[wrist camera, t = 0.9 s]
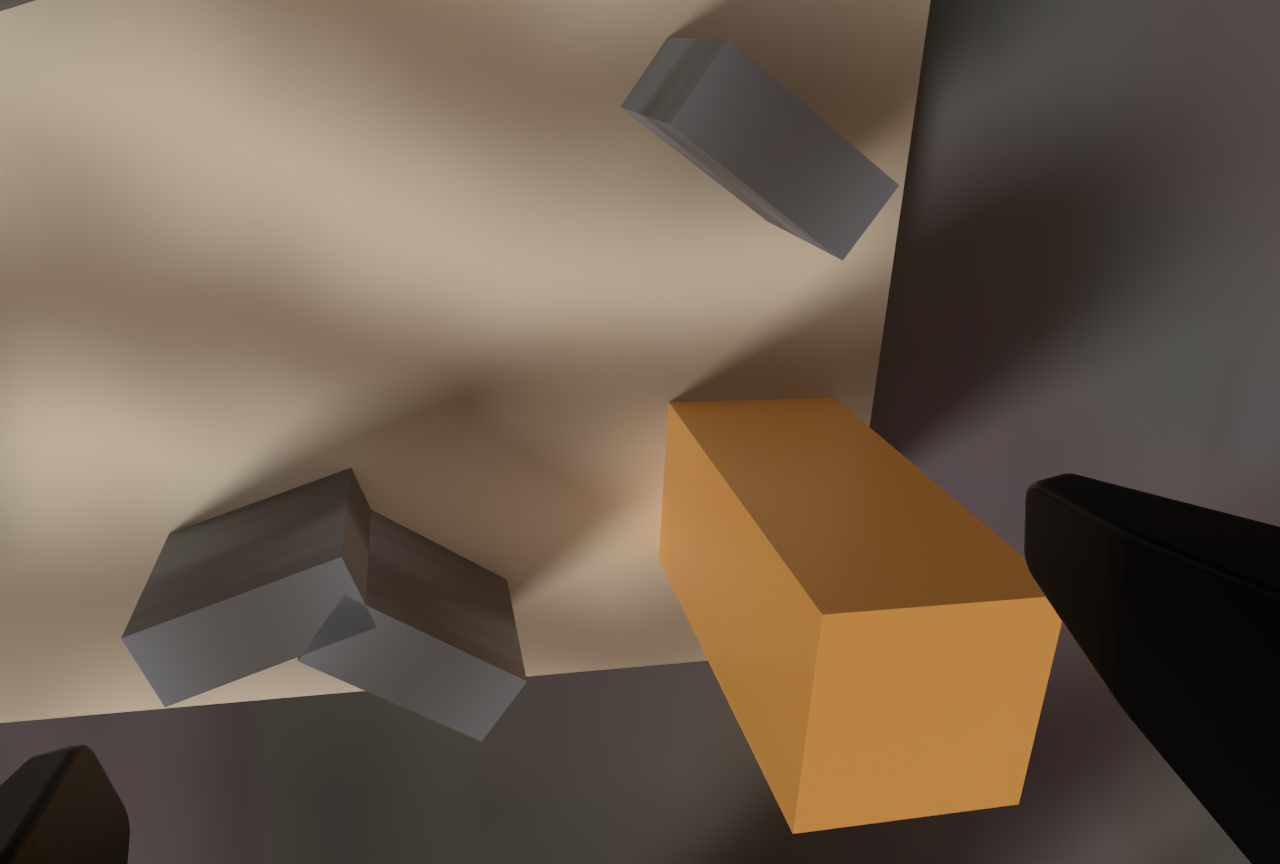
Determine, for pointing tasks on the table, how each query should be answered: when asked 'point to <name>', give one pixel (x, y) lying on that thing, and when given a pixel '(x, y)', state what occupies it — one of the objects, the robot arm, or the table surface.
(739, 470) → the plug block
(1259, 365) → the table surface
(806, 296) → the board
